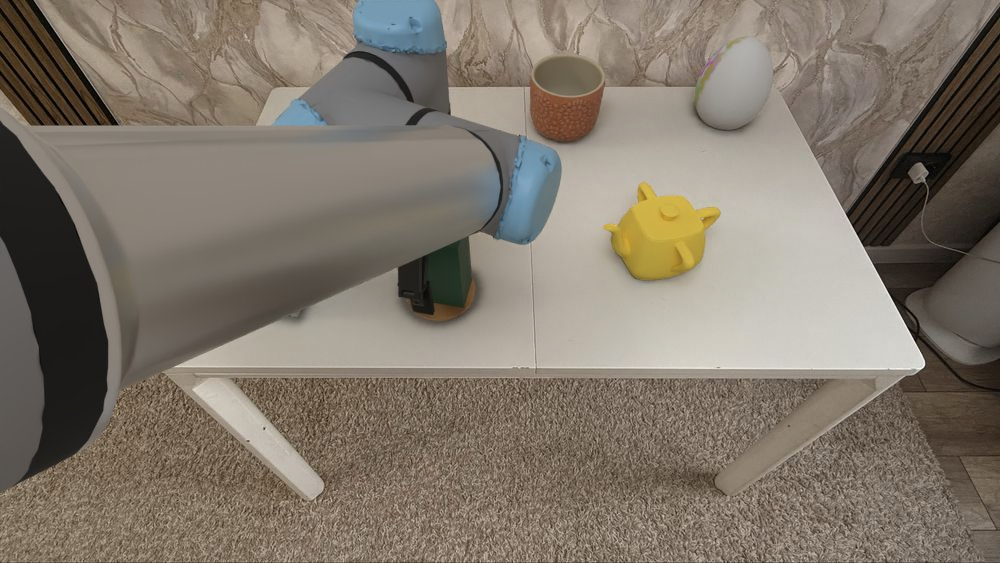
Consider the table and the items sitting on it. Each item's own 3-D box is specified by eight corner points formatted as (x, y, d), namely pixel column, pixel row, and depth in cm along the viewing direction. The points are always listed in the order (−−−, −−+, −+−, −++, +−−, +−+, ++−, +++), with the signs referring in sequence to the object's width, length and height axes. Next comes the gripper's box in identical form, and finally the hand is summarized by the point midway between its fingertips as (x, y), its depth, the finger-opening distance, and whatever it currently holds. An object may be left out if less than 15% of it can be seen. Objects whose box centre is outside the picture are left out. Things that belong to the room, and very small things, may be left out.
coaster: (440, 334, 75) (440, 332, 75) (390, 294, 79) (390, 291, 79) (490, 289, 80) (490, 286, 79) (440, 253, 84) (440, 250, 83)
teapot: (674, 310, 78) (695, 265, 69) (591, 270, 82) (602, 224, 73) (709, 246, 84) (732, 198, 76) (631, 212, 88) (645, 163, 80)
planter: (515, 118, 102) (517, 64, 93) (573, 99, 105) (580, 45, 97) (549, 159, 96) (554, 106, 87) (610, 137, 99) (620, 84, 90)
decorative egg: (723, 88, 107) (751, 12, 95) (770, 123, 101) (807, 47, 89) (674, 108, 104) (696, 32, 92) (720, 146, 98) (751, 70, 85)
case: (463, 308, 77) (457, 248, 67) (408, 298, 78) (393, 238, 68) (472, 279, 80) (467, 218, 70) (418, 270, 81) (406, 209, 70)
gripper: (419, 242, 51) (440, 354, 68) (479, 83, 65) (483, 210, 82) (341, 230, 52) (382, 344, 69) (417, 75, 66) (434, 202, 83)
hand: (437, 271), depth 76 cm, fingers open, 12 cm apart
